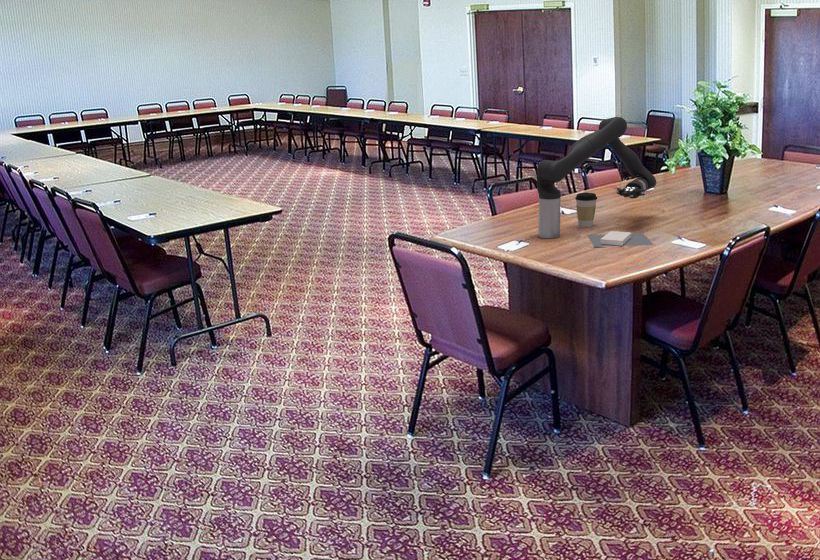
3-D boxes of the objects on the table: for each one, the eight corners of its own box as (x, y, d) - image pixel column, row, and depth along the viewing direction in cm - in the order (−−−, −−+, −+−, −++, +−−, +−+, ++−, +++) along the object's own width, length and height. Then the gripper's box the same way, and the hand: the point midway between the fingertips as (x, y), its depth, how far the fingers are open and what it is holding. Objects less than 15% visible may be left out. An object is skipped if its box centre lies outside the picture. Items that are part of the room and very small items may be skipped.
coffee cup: (600, 226, 355) (601, 193, 351) (588, 230, 348) (589, 197, 344) (582, 223, 362) (583, 191, 357) (570, 227, 355) (570, 195, 351)
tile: (610, 231, 333) (600, 239, 321) (631, 232, 329) (622, 240, 316) (610, 236, 334) (600, 244, 321) (631, 237, 330) (622, 246, 317)
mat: (594, 247, 319) (594, 246, 319) (587, 236, 338) (587, 234, 338) (653, 246, 317) (653, 244, 317) (643, 234, 336) (643, 233, 336)
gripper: (621, 179, 350) (610, 185, 335) (651, 181, 344) (641, 187, 329) (620, 196, 352) (609, 202, 337) (650, 197, 346) (640, 204, 331)
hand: (625, 194), depth 333 cm, fingers closed
